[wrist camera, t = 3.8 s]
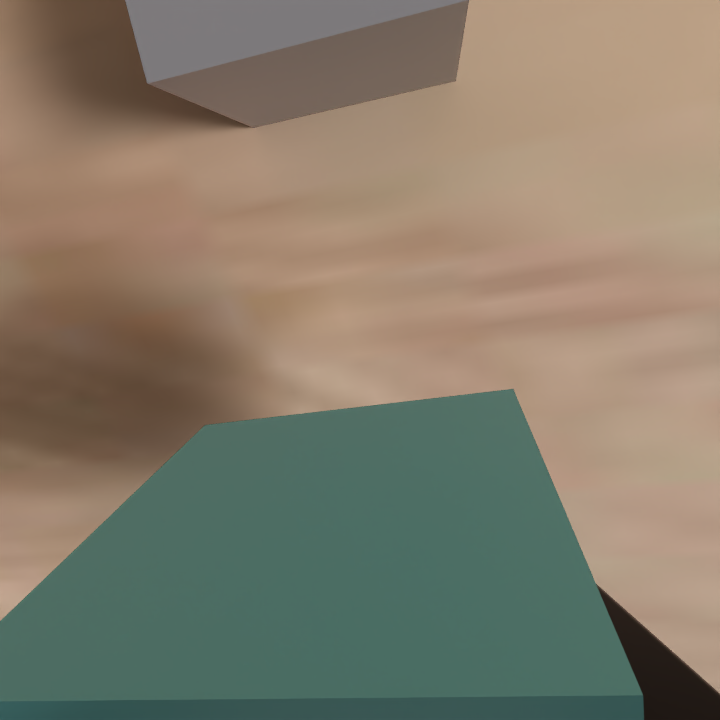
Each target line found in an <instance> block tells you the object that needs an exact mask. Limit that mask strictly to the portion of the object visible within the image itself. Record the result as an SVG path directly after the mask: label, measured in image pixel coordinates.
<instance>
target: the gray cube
mask: <svg viewBox="0 0 720 720" xmlns="http://www.w3.org/2000/svg"><path fill="white" fill-rule="evenodd" d="M125 2H126V5H127V9H128V13H129V17H130V20H131V24H132V28H133V32H134V36H135V39H136V43H137V47H138V51H139V54H140V58H141V62H142V66H143V69H144V73H145V77H146V81H147V84H149V85H152V86H154V87H156V88H159V89H161V90H164V91H166V92H168V93H171V94H173V95H176V96H178V97H180V98H183V99H185V100H188V101H190V102H192V103H195V104H197V105H200V106H202V107H204V108H207V109H209V110H212V111H214V112H216V113H219V114H221V115H224V116H226V117H228V118H231V119H233V120H236V121H238V122H240V123H243V124H245V125H248V126H250V127H252V128H255V127H259V126H263V125H267V124H272V123H276V122H280V121H285V120H289V119H293V118H298V117H302V116H306V115H311V114H315V113H319V112H324V111H328V110H332V109H336V108H341V107H345V106H349V105H354V104H358V103H362V102H367V101H371V100H375V99H380V98H384V97H388V96H393V95H397V94H401V93H406V92H410V91H414V90H418V89H423V88H427V87H431V86H436V85H440V84H444V83H449V82H453V81H456V76H457V70H458V64H459V58H460V52H461V46H462V39H463V33H464V27H465V21H466V15H467V9H468V3H469V0H125Z"/></svg>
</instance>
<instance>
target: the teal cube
mask: <svg viewBox="0 0 720 720" xmlns="http://www.w3.org/2000/svg"><path fill="white" fill-rule="evenodd" d="M0 720H644V706H643V694H642V692H641V689H640V687H639V684H638V682H637V680H636V677H635V675H634V673H633V670H632V668H631V666H630V663H629V661H628V659H627V656H626V654H625V651H624V649H623V647H622V644H621V642H620V640H619V637H618V635H617V633H616V630H615V628H614V626H613V623H612V621H611V618H610V616H609V614H608V611H607V609H606V607H605V604H604V602H603V600H602V597H601V595H600V593H599V590H598V588H597V585H596V583H595V581H594V578H593V576H592V574H591V571H590V569H589V567H588V564H587V562H586V560H585V557H584V555H583V552H582V550H581V548H580V545H579V543H578V541H577V538H576V536H575V534H574V531H573V529H572V527H571V524H570V522H569V520H568V517H567V515H566V512H565V510H564V508H563V505H562V503H561V501H560V498H559V496H558V494H557V491H556V489H555V487H554V484H553V482H552V479H551V477H550V475H549V472H548V470H547V468H546V465H545V463H544V461H543V458H542V456H541V454H540V451H539V449H538V446H537V444H536V442H535V439H534V437H533V435H532V432H531V430H530V428H529V425H528V423H527V421H526V418H525V416H524V413H523V411H522V409H521V406H520V404H519V402H518V399H517V397H516V395H515V392H514V390H513V389H509V390H501V391H492V392H484V393H475V394H467V395H458V396H449V397H441V398H432V399H424V400H415V401H407V402H398V403H390V404H381V405H373V406H364V407H355V408H347V409H338V410H330V411H321V412H313V413H304V414H296V415H287V416H279V417H270V418H261V419H253V420H244V421H236V422H227V423H219V424H210V425H205V426H204V427H202V428H201V429H200V430H199V431H198V432H197V433H196V434H195V435H194V436H193V437H192V438H191V439H190V440H189V441H188V442H187V443H186V444H185V445H184V446H183V447H182V448H181V449H180V450H178V451H177V452H176V453H175V454H174V455H173V456H172V457H171V458H170V459H169V460H168V461H167V462H166V463H165V464H164V465H163V466H162V467H161V468H160V469H159V470H158V471H157V472H156V473H154V474H153V475H152V476H151V477H150V478H149V479H148V480H147V481H146V482H145V483H144V484H143V485H142V486H141V487H140V488H139V489H138V490H137V491H136V492H135V493H134V494H133V495H132V496H130V497H129V498H128V499H127V500H126V501H125V502H124V503H123V504H122V505H121V506H120V507H119V508H118V509H117V510H116V511H115V512H114V513H113V514H112V515H111V516H110V517H109V518H108V519H106V520H105V521H104V522H103V523H102V524H101V525H100V526H99V527H98V528H97V529H96V530H95V531H94V532H93V533H92V534H91V535H90V536H89V537H88V538H87V539H86V540H85V541H84V542H82V543H81V544H80V545H79V546H78V547H77V548H76V549H75V550H74V551H73V552H72V553H71V554H70V555H69V556H68V557H67V558H66V559H65V560H64V561H63V562H62V563H61V564H60V565H58V566H57V567H56V568H55V569H54V570H53V571H52V572H51V573H50V574H49V575H48V576H47V577H46V578H45V579H44V580H43V581H42V582H41V583H40V584H39V585H38V586H37V587H36V588H34V589H33V590H32V591H31V592H30V593H29V594H28V595H27V596H26V597H25V598H24V599H23V600H22V601H21V602H20V603H19V604H18V605H17V606H16V607H15V608H14V609H13V610H12V611H10V612H9V613H8V614H7V615H6V616H5V617H4V618H3V619H2V620H1V621H0Z"/></svg>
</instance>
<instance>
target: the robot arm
mask: <svg viewBox="0 0 720 720" xmlns="http://www.w3.org/2000/svg"><path fill="white" fill-rule="evenodd" d="M596 585H597V584H596ZM597 588H598V590H599V593H600V595H601V597H602V600H603V602H604V604H605V607H606V609H607V611H608V614H609V616H610V618H611V621H612V623H613V626H614V628H615V630H616V633H617V635H618V637H619V640H620V642H621V644H622V647H623V649H624V651H625V654H626V656H627V659H628V661H629V663H630V666H631V668H632V670H633V673H634V675H635V677H636V680H637V682H638V684H639V687H640V689H641V692H642V694H643V706H644V720H720V693H718V692H717V691H716V690H715V689H714V688H713V687H712V686H711V685H709V684H708V683H707V682H706V681H705V680H704V679H703V678H702V677H700V676H699V675H698V674H697V673H696V672H695V671H694V670H693V669H691V668H690V667H689V666H688V665H687V664H686V663H685V662H684V661H682V660H681V659H680V658H679V657H678V656H677V655H676V654H675V653H673V652H672V651H671V650H670V649H669V648H668V647H667V646H666V645H664V644H663V643H662V642H661V641H660V640H659V639H658V638H657V637H655V636H654V635H653V634H652V633H651V632H650V631H649V630H648V629H646V628H645V627H644V626H643V625H642V624H641V623H640V622H639V621H637V620H636V619H635V618H634V617H633V616H632V615H631V614H629V613H628V612H627V611H626V610H625V609H624V608H623V607H622V606H620V605H619V604H618V603H617V602H616V601H615V600H614V599H613V598H611V597H610V596H609V595H608V594H607V593H606V592H605V591H604V590H602V589H601V588H600V587H599V586H598V585H597Z"/></svg>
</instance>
